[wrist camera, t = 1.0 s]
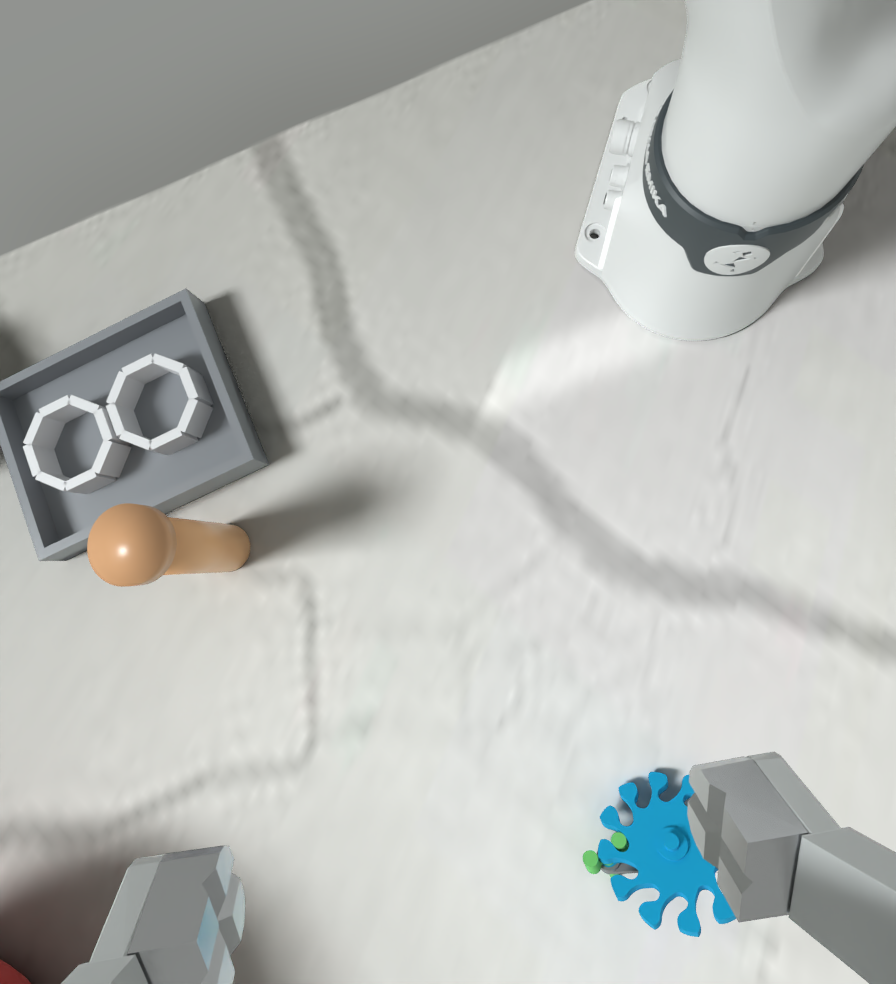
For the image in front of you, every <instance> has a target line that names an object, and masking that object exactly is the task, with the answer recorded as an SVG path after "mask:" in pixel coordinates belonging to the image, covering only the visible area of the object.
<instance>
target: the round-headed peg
mask: <svg viewBox="0 0 896 984" xmlns="http://www.w3.org/2000/svg"><path fill="white" fill-rule="evenodd" d="M87 552H88V558H89V561H90V564H91V566H92V568H93V570H94V571H95V573H96V574H97V575H98V576H99V577H100V578H101V579H103V580H104V581H105V582H107V583H109V584H112V585H116V586H137V585H145V584H149V583H151V582H153V581H155V580H157V579H158V578H160V577H161V576H162V575H172V574H194V573H216V572H231V571H235V570H237V569H239V568H240V567H241V566H243V565H244V563H245V562H246V561H247V559H248V557H249V554H250V541H249V538H248V536H247V534H246V533H245V531H244V530H242V529H241V528H240V527H238V526H235V525H231V524H222V523H214V522H205V521H196V520H187V519H179V518H170V517H167V516H166V515H165V514H164V513H163V512H161V511H160V510H158V509H156V508H154V507H151V506H146V505H139V504H131V503H125V504H119V505H116V506H113V507H111V508H109V509H108V510H106V511H105V512H104V513H102V514H101V515H100V516H99V517H98V519H97V520H96V521H95V523H94V524H93V526H92V528H91V531H90V533H89V537H88V543H87Z"/></svg>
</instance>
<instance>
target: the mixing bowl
mask: <svg viewBox="0 0 896 984" xmlns="http://www.w3.org/2000/svg"><path fill="white" fill-rule="evenodd" d="M0 984H31V983H30V982H29V980H28V979H27V978H26V977H25V976H24V975H22V974H21V973H20V972H18V971H17V970H16V969H14V968H13V967H12V966H10V965H9V964H7V963H6V962H4V961H2V960H0Z"/></svg>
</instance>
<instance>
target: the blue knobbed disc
mask: <svg viewBox="0 0 896 984" xmlns="http://www.w3.org/2000/svg"><path fill="white" fill-rule="evenodd" d="M648 778H649V783H650V786H651V788H652V796H651V800H650V803H649V805H648V806H647V807H646V808H639V807H637V806H636V802H637V800H638V797H639V794H638V790H637V787H636V785H635V784H634V783H633V782H631V783H626V784H624V785H622V786H620V787H619V793H620V796H621V798H622V800H623V801H624V802H625V803H627V805H628V806H629V807H630V809H631V810H632V813H633V823H632V824H631V825H630V826H623V825H622V824H621V823H620V819H619V816H618V813H617V810H616V809H615V808H614V807H612V806H608V807H607V808H606V809H605V810H604V811H603V812H602V814H601V816H600V819H601V822H602V824H603V825H604V826H605V827H606V828H608V829H611V830H614V831H616V833H614V834H613V835H612V837H611V842H612V843H611V842H610V841H609V840H606V839H602V840H600V843H599V847H598V852H597V854H596V853H595V852H594V851H591V850H589V851H586V852H585V853H584V855H583V862H584V864H585V866H586V868H587V870H588V871H589V872H590V873H592V874H597V873H598V872H599V871H600V870H602V871H603V872H605V873H607V874H610V877H611V884H612V887H613V890H614V892H615V895H616V897H617V899H618V901H625V900H627V899H628V898H629V897H630V895H631V894H633V893H634V892H635V891H637V890H639V889H643V888H655V889H657V890H658V891H659V892H660V896H659V898H658V900H656V901H651V902H644V903H642V904H641V906H640V908H639V913H640V916H641V917H642V919H643V920H644V921H645V922H646V923H647V924H648V925H649V926H650V927H652V928H653V929H654V930H655V929H657V928H658V927H659V926H660V925H661V921H662V914H663V911H664V909H665V907H666V906H667V904H668V903H669V902H670V901H672V900H673V899H674V898H675V897H678V896H681V897H683V898H685V899H686V900H687V901H688V906H687V908H686V909H685V910H684V911H683V912H681V913H680V914H679V916H678V921H677V922H678V927H679V930H680V932H682V933H684V934H686V935H690V936H695V937H699V936H700V933H701V927H700V922H699V919H698V917H697V914H696V902H697V898H698V895H699V892H700V891H702V890H709V891H711V892H712V893H713V894H714V896H715V899H714V903H713V914H714V917H715V919H716V921H717V922H718V923H719V924H724V923H728V922H731V921H733V920H735V919H736V917H735V915H734V913H733V911H732V909H731V908H730V906H729V904H728V902H727V900H726V899H725V897H724V895H723V894H722V892H721V891H720V889H719V887H718V885H717V882H716V878H715V873H716V871H717V870H718V868H716V867H715V866H713V865H712V864H710V863H709V862H707V861H706V860H704V859H703V857H702V855H701V853H700V851H699V849H698V847H697V846H696V843H695V841H694V838H693V836H692V833H691V829H690V825H689V820H688V816H687V812H688V807H687V806H685V804H684V802H685V800H687V799H689V798H690V797H691V796H692V795H693V794H694V793H695V792H694V790H693V788H692V787H691V785H690V783H689V775H686V776H685V777H684V778H683V780H682V787H681V790H680V792H679V793H678V794H677V795H676V796H675V797H674V798H673V799H672V800H670V801H668V802H664V801H662V800H660V799H659V796H660V794H661V793H663V792H664V791H665V790H666V789H667V788H668V780H667V776H666V775H665V774H663V773H659V772H650V773H649V777H648ZM627 842H628V843H629V845H628V843H627ZM625 873H638V876H637V877H636V878H635V879H632V880H631V879H628V878H626V877H624V876H622V875H620V874H625Z"/></svg>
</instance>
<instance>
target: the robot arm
mask: <svg viewBox="0 0 896 984" xmlns="http://www.w3.org/2000/svg"><path fill="white" fill-rule="evenodd" d="M684 1H685V5H686V11H687V30H686V37H685V42H684V48H683V53H682V58H680V59H677V60H674V61H672V62H670V63H668V64H666V65H664V66H663V67H661V68H660V69H659V70H657V71H656V72H655V73H654V75H653V78H651V79H649V80H646V81H643V82H641V83H639V84H637V85H635V86H633V87H631V88H629V89H628V90H626V91H625V92H624V93H623V94H622V96H621V99H620V102H619V104H618V107H617V110H616V113H615V117H614V120H613V123H612V126H611V130H610V133H609V136H608V140H607V143H606V146H605V150H604V153H603V156H602V160H601V163H600V166H599V170H598V173H597V176H596V180H595V183H594V186H593V190H592V193H591V196H590V200H589V203H588V206H587V210H586V213H585V216H584V220H583V223H582V226H581V230H580V233H579V236H578V240H577V243H576V246H575V257H576V259H577V261H578V262H579V263H580V264H581V265H582V266H583V267H585V268H586V269H587V270H589V271H590V272H591V273H593V274H594V275H596V276H597V277H599V278H600V279H601V280H602V281H603V282H604V283H605V285H606V286H607V288H608V289H609V291H610V293H611V294H612V296H613V298H614V299H615V301H616V302H617V304H618V305H619V306H620V308H621V309H622V310H623V311H624V312H625V313H626V314H627V315H628V316H629V317H630V318H631V319H633V320H634V321H635V322H636V323H638V324H639V325H641V326H642V327H644V328H646V329H648V330H650V331H652V332H654V333H656V334H659V335H661V336H665V337H668V338H672V339H677V340H685V341H703V340H711V339H716V338H720V337H724V336H727V335H730V334H732V333H735V332H737V331H739V330H741V329H743V328H745V327H747V326H748V325H750V324H751V323H753V322H754V321H755V320H757V319H758V318H759V317H760V316H761V315H763V314H764V313H765V312H766V311H767V310H768V308H769V307H770V306H771V305H772V304H773V302H774V301H775V300H776V299H777V297H778V296H779V295H780V294H781V293H782V292H783V291H784V290H785V289H786V288H787V287H788V286H790V285H792V284H794V283H796V282H798V281H800V280H802V279H804V278H805V277H807V276H809V275H810V274H811V273H813V272H814V271H815V270H816V269H817V267H818V266H819V265H820V263H821V262H822V260H823V257H824V250H823V244H822V242H823V241H824V239H825V238H826V237H827V235H828V234H829V232H830V231H831V230H832V228H833V227H834V226H835V224H836V223H837V221H838V220H839V219H840V217H841V215H842V213H843V210H844V204H842V203H843V202H844V199H845V198H846V197H847V195H848V194H849V191H850V190H851V188H852V187H853V185H854V184H855V182H856V181H857V179H858V177H859V175H860V173H861V171H862V168H863V165H864V163H865V162H866V161H867V160H868V158H869V157H870V156H871V155H872V154H873V153H874V151H875V150H876V149H877V148H878V147H879V146H880V144H881V143H882V142H883V141H884V140H885V139H886V137H887V136H888V135H889V134H890V133H891V132H892V130H893V129H894V128H895V127H896V0H684ZM593 233H595V234H597V235H598V236H599V237H598V238H597V239H592V238H591V237H590V235H591V234H593ZM689 783H690V785H691V787H692V788H693V790H694V792H695V793H694V794H693V795H692V796H691V797H690V799H689V800H688V812H687V816H688V820H689V825H690V829H691V833H692V836H693V838H694V841H695V843H696V846H697V847H698V849H699V851H700V853H701V855H702V857H703V859H704V860H706V861H707V862H709V863H710V864H712V865H713V866H715V867H716V868H718V879H717V884H718V886H719V888H720V890H721V891H722V893H723V895H724V897H725V899H726V900H727V902H728V904H729V906H730V908H731V909H732V911H733V913H734V915H735V917H736V918H737V920H738V922H744V921H751V920H757V919H764V918H770V917H777V916H783V915H789V918H790V919H791V920H792V921H794V922H795V923H796V924H797V925H798V926H800V927H801V928H802V929H803V930H805V931H806V932H807V933H808V934H809V935H811V936H812V937H813V938H814V939H816V940H817V941H818V942H819V943H820V944H822V945H823V946H824V947H825V948H827V949H828V950H829V951H830V952H831V953H833V954H834V955H835V956H836V957H838V958H839V959H840V960H841V961H843V962H844V963H845V964H846V965H847V966H849V967H850V968H851V969H852V970H854V971H855V972H856V973H857V974H858V975H860V976H861V977H862V978H863V979H865V980H866V981H867V982H868V983H869V984H896V852H894V851H892V850H890V849H889V848H887V847H885V846H883V845H881V844H879V843H878V842H876V841H874V840H872V839H870V838H869V837H867V836H865V835H863V834H861V833H859V832H858V831H856V830H854V829H852V828H850V827H846V828H840V826H839V825H838V824H837V823H836V822H835V820H834V819H833V818H832V817H831V816H830V814H829V813H828V812H827V811H826V810H825V808H824V807H823V806H822V805H821V803H820V802H819V801H818V800H817V799H816V797H815V796H814V795H813V794H812V793H811V791H810V790H809V789H808V788H807V787H806V785H805V784H804V783H803V782H802V781H801V779H800V778H799V777H798V776H797V775H796V773H795V772H794V771H793V770H792V769H791V767H790V766H789V765H788V764H787V763H786V761H785V760H784V759H783V758H782V757H781V755H779V754H777V753H776V752H769V753H763V754H758V755H752V756H747V757H738V758H732V759H727V760H721V761H716V762H711V763H705V764H700V765H694V766H692V768H691V770H690V774H689ZM233 863H234V857H233V854H232V852H231V849H230V846H217V847H210V848H203V849H196V850H189V851H182V852H175V853H167V854H163V855H156V856H149V857H143V858H136V859H135V860H134V861H133V862H132V864H131V865H130V866H129V867H128V869H127V871H126V873H125V876H124V878H123V881H122V883H121V885H120V888H119V890H118V893H117V895H116V898H115V900H114V903H113V905H112V907H111V910H110V912H109V915H108V917H107V920H106V922H105V925H104V927H103V929H102V932H101V934H100V937H99V939H98V942H97V944H96V947H95V949H94V952H93V954H92V956H91V959H90V961H89V963H84V964H79V965H78V966H77V967H76V968H75V969H74V971H73V972H72V973H71V974H70V975H69V976H68V977H67V978H66V979H65V980H64V981H63V982H62V983H61V984H233V980H234V975H235V970H234V967H233V964H232V961H231V958H230V955H231V954H232V953H233V952H234V950H235V949H236V948H237V946H238V945H239V944H240V942H241V939H242V933H243V928H244V918H245V897H244V889H243V885H242V882H241V879H240V877H238V876H236V875H235V874H233V873H232V867H233Z"/></svg>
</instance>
